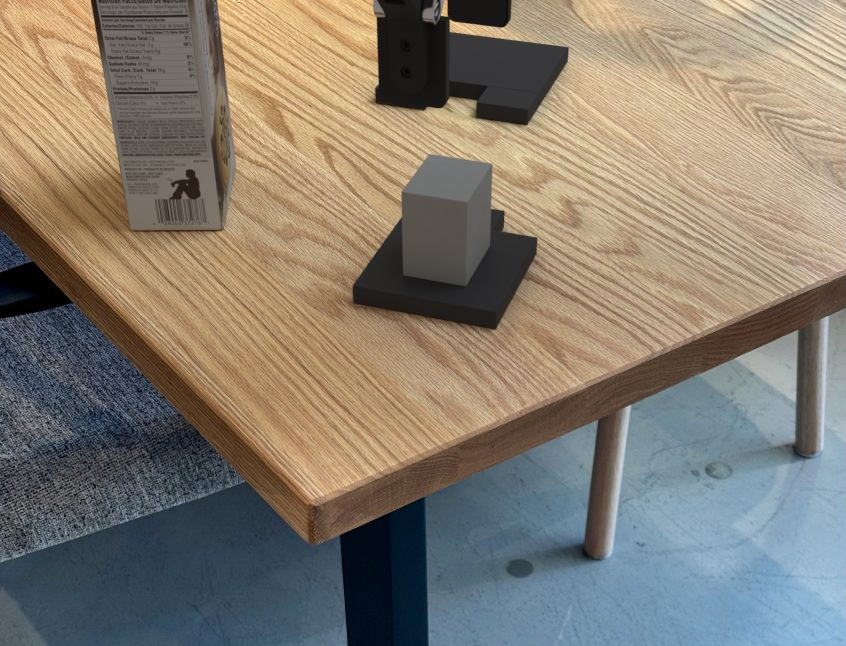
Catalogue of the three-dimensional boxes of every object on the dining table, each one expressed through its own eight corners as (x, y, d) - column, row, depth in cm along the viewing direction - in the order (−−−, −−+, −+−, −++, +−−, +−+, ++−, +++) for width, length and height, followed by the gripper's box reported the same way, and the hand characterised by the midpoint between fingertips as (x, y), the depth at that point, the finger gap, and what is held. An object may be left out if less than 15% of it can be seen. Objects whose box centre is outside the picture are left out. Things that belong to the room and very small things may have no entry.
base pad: (567, 61, 106) (568, 46, 105) (527, 124, 98) (528, 109, 97) (426, 43, 109) (426, 28, 108) (375, 102, 101) (374, 87, 100)
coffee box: (147, 167, 93) (109, -72, 82) (238, 166, 93) (212, -73, 82) (126, 232, 86) (82, -19, 76) (225, 231, 86) (195, -20, 76)
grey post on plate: (547, 234, 86) (553, 135, 81) (496, 329, 78) (499, 226, 73) (416, 212, 88) (415, 115, 84) (352, 302, 80) (347, 200, 75)
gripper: (475, -317, 45) (467, 150, 56) (596, -392, 57) (569, 5, 69) (273, -329, 47) (305, 125, 58) (432, -399, 59) (432, -12, 71)
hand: (448, 60), depth 64 cm, fingers open, 9 cm apart
